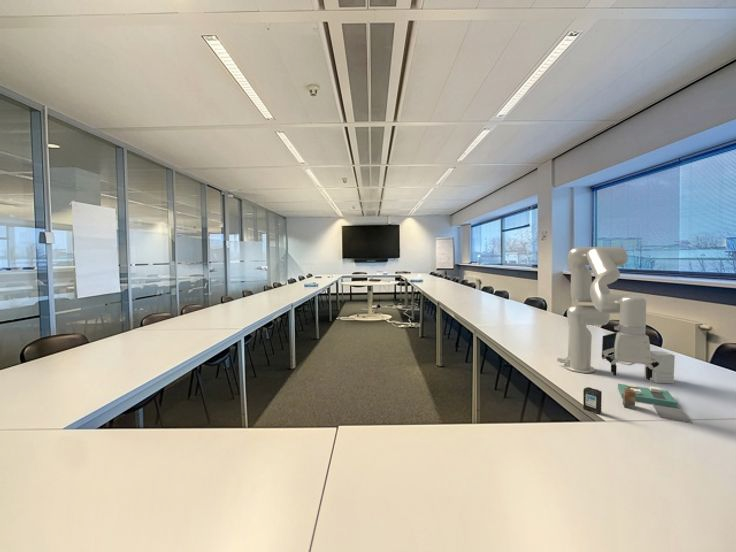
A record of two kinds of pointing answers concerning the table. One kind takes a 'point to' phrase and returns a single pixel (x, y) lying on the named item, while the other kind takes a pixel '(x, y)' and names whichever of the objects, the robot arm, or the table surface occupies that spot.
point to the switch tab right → (655, 389)
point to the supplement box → (662, 368)
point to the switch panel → (651, 396)
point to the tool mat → (672, 413)
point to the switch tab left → (637, 391)
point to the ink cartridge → (592, 400)
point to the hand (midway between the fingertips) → (630, 376)
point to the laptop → (610, 346)
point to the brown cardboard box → (628, 398)
